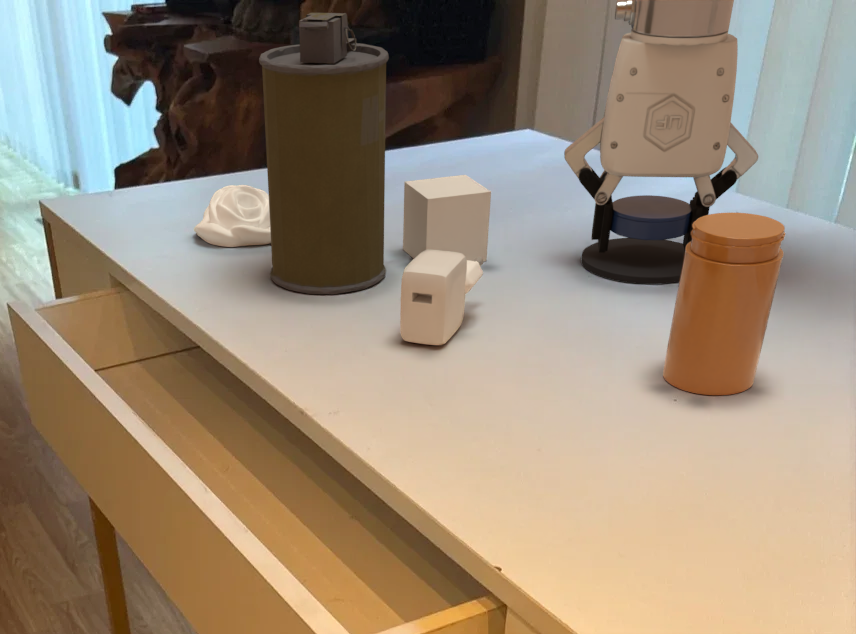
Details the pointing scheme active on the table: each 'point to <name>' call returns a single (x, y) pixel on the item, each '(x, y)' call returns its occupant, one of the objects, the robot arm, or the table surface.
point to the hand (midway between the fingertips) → (645, 247)
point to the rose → (236, 217)
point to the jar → (723, 303)
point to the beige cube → (446, 216)
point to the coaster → (636, 260)
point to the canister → (326, 158)
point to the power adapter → (436, 295)
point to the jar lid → (650, 217)
